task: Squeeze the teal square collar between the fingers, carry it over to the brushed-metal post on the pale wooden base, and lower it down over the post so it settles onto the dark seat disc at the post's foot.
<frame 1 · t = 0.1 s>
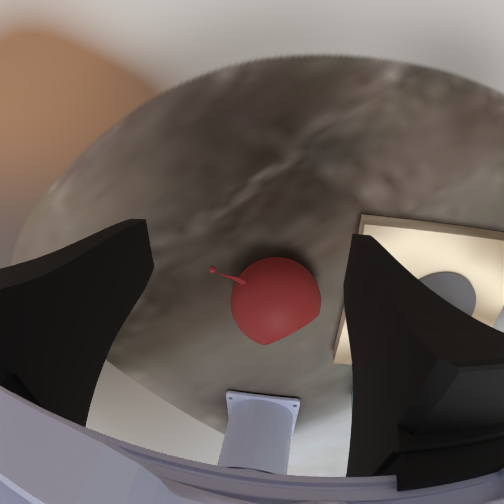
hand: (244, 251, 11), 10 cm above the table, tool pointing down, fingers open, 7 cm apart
fruit: (268, 268, 24), on the table
post base: (429, 298, 22), on the table
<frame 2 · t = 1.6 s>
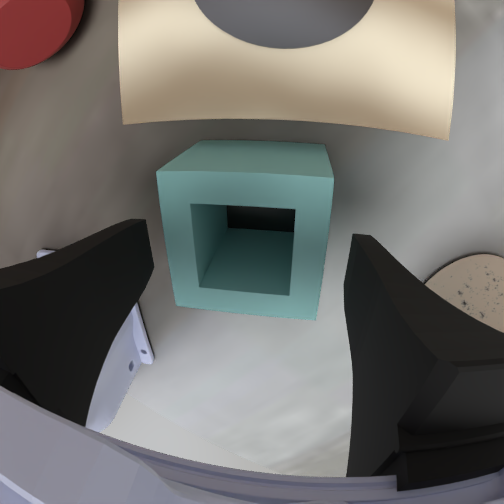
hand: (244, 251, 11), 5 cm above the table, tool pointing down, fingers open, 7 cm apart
fruit: (49, 6, 11), on the table
collar: (261, 198, 15), on the table
teacup with lid: (480, 294, 16), on the table
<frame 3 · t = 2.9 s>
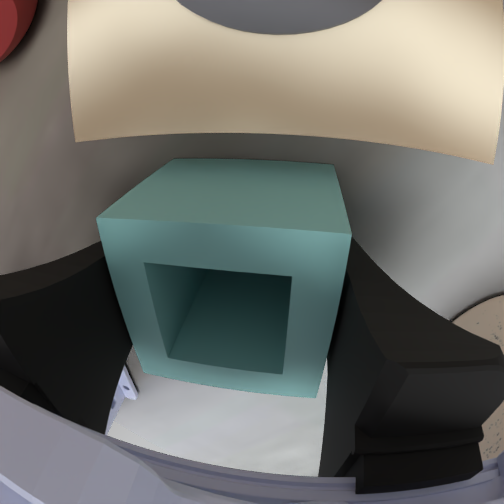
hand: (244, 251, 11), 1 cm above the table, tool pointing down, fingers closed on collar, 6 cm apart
fruit: (6, 2, 8), on the table
collar: (251, 232, 12), on the table, touching gripper
teacup with lid: (503, 334, 13), on the table
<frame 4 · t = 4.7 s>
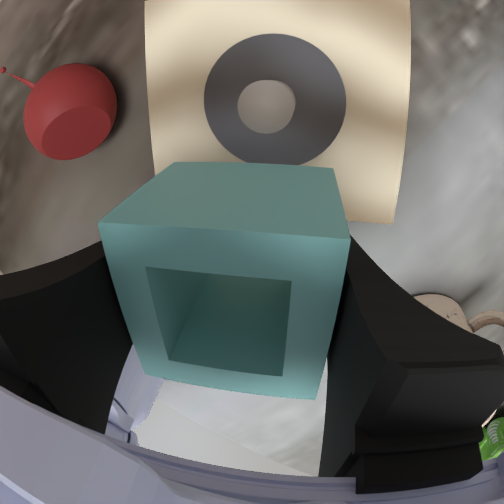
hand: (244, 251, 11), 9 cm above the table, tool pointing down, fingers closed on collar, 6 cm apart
fruit: (83, 93, 17), on the table
post base: (276, 98, 16), on the table
collar: (251, 234, 12), point 8 cm above the table, touching gripper
teacup with lid: (430, 321, 23), on the table
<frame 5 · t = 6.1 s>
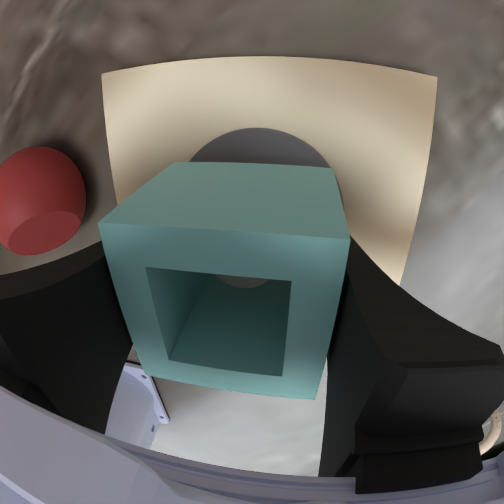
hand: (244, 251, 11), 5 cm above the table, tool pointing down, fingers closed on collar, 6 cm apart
fruit: (51, 170, 16), on the table
post base: (263, 197, 15), on the table
collar: (251, 235, 12), point 3 cm above the table, touching gripper
teacup with lid: (417, 395, 21), on the table
when the fingers open (5 cm above the table, at t = 6.9 s): collar drops 2 cm, resting on post base.
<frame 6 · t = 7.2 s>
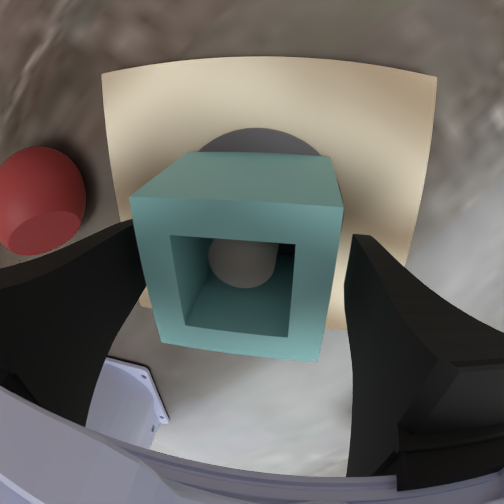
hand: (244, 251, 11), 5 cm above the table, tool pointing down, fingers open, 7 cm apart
fruit: (51, 170, 16), on the table
post base: (263, 198, 15), on the table
collar: (257, 217, 13), point 2 cm above the table, touching post base
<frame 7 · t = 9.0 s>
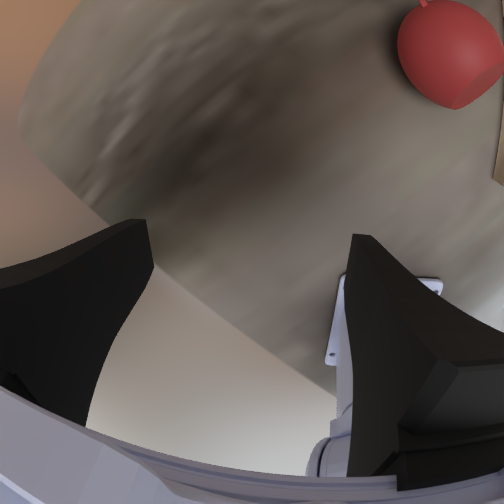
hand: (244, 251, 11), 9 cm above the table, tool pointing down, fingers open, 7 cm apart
fruit: (422, 38, 13), on the table
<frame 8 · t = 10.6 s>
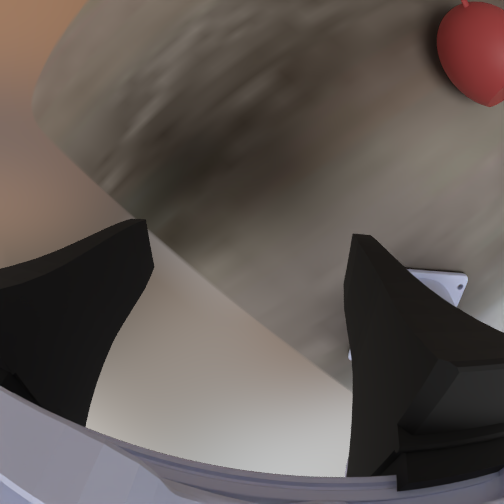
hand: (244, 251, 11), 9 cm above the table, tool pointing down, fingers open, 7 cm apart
fruit: (457, 37, 12), on the table
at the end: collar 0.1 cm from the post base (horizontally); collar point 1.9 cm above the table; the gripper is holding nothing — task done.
